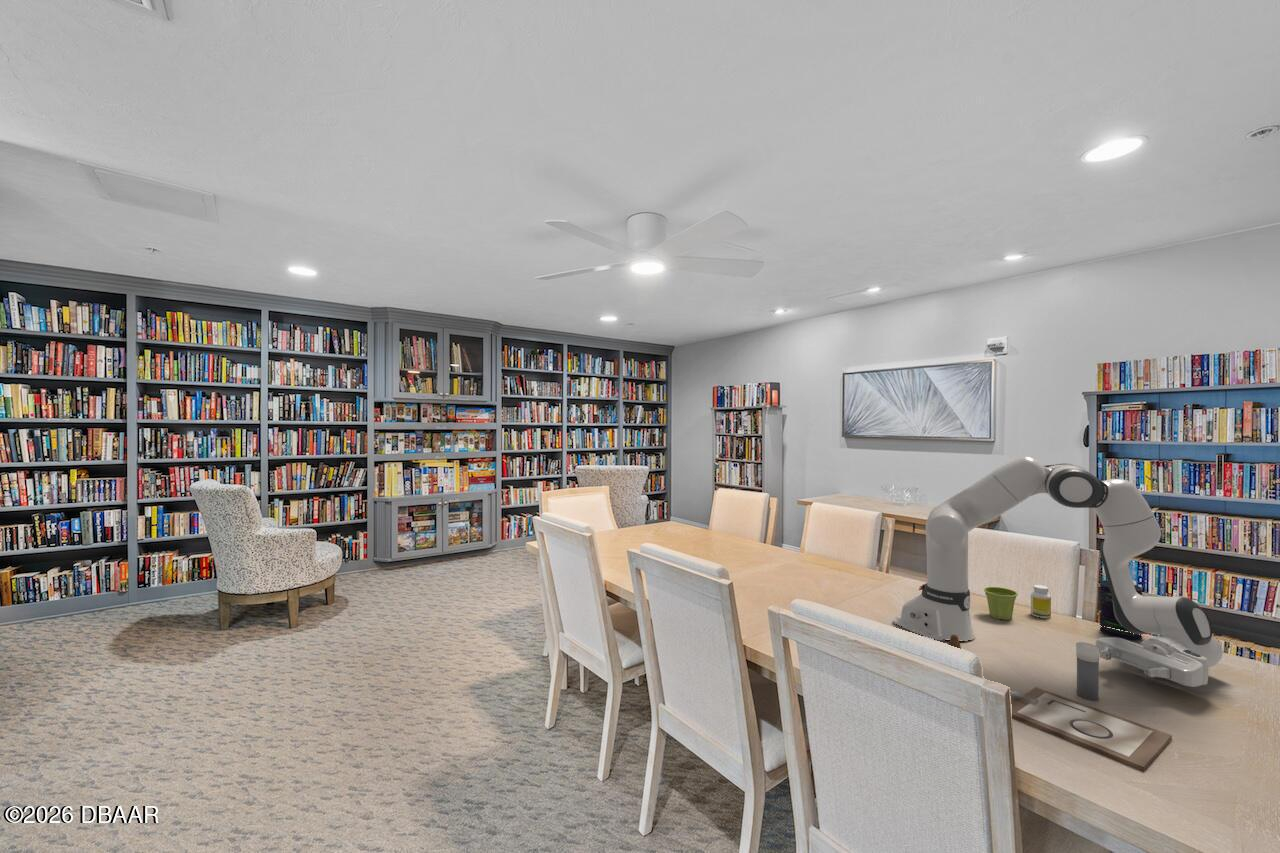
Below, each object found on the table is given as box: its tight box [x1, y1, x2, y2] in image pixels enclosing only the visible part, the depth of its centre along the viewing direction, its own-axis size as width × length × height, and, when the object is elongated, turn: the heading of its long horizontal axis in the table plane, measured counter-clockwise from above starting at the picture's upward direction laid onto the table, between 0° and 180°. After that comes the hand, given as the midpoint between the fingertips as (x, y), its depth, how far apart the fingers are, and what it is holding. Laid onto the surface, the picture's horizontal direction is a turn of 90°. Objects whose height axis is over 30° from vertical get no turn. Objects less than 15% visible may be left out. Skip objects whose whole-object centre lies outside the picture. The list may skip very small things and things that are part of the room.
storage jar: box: [1098, 580, 1143, 642], centre depth 163 cm, size 10×10×15 cm
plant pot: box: [983, 586, 1019, 621], centre depth 178 cm, size 9×9×9 cm
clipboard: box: [1010, 686, 1173, 772], centre depth 116 cm, size 26×18×2 cm
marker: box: [1075, 641, 1100, 701], centre depth 127 cm, size 4×4×12 cm
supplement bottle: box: [1030, 584, 1052, 619], centre depth 179 cm, size 5×5×10 cm
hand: (1124, 663), depth 131 cm, fingers open, 8 cm apart
